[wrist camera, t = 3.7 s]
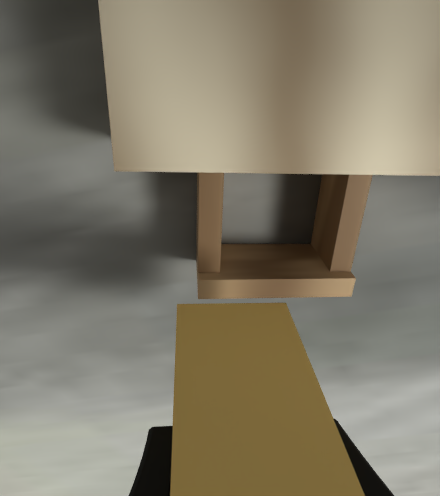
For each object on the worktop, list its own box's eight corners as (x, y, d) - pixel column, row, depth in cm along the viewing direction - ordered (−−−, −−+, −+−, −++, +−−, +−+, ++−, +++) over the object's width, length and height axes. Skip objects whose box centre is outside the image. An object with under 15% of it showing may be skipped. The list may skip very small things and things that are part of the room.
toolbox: (548, -409, 11) (728, -645, 7) (375, 259, 21) (414, 300, 17) (90, -484, 10) (33, -808, 6) (142, 261, 20) (131, 305, 16)
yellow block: (285, 302, 14) (369, 507, 7) (273, 381, 15) (333, 598, 9) (177, 303, 13) (169, 521, 7) (178, 384, 15) (172, 612, 9)
